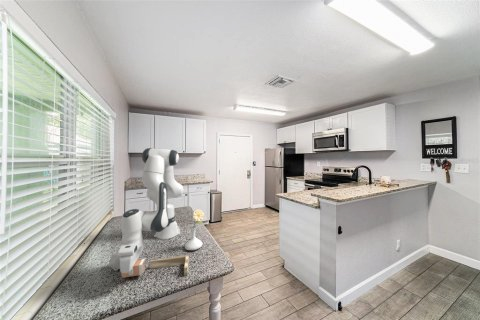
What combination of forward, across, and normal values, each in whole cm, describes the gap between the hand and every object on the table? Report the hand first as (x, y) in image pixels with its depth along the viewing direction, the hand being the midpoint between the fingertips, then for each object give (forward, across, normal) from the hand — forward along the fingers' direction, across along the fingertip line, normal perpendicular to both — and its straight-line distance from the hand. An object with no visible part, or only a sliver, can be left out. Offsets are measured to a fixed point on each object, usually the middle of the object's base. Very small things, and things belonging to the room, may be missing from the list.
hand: (133, 269), depth 90 cm
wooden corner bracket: (+4, 0, +16) cm, 17 cm away
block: (+2, 0, 0) cm, 2 cm away
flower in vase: (+4, -22, +29) cm, 37 cm away
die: (+4, -10, -11) cm, 16 cm away
